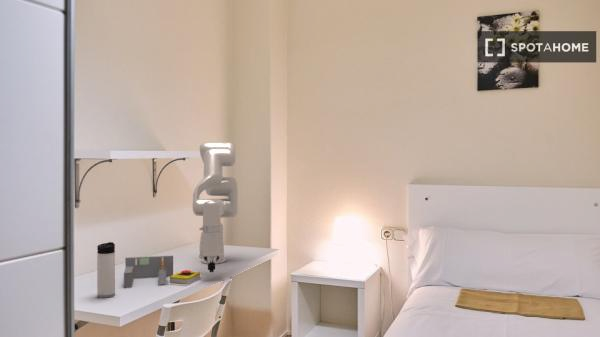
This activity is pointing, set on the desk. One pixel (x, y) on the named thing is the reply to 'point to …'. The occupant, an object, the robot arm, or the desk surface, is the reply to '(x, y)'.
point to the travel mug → (106, 270)
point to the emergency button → (184, 278)
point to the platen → (162, 274)
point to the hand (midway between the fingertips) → (211, 271)
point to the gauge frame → (145, 268)
